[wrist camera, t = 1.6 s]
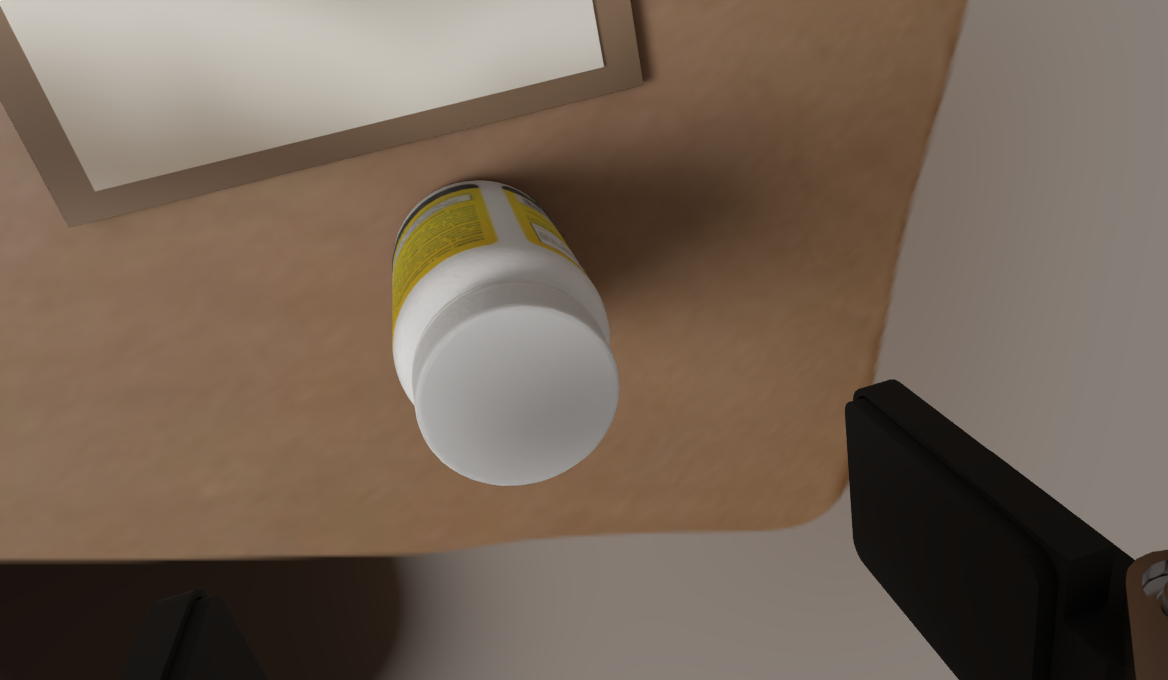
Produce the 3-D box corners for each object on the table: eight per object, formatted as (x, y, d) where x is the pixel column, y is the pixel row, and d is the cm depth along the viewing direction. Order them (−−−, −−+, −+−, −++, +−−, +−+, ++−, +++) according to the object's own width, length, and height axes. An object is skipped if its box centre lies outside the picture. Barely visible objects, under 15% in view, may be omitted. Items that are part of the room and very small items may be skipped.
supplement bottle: (385, 326, 22) (378, 500, 15) (400, 165, 20) (400, 271, 13) (546, 340, 23) (614, 505, 16) (573, 189, 22) (664, 297, 14)
